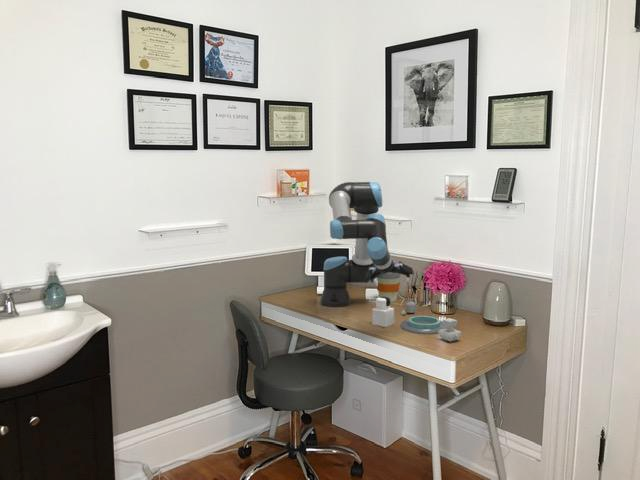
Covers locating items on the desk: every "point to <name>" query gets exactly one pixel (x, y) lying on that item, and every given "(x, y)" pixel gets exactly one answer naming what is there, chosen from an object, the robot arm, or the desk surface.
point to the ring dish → (420, 331)
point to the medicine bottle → (383, 312)
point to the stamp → (449, 330)
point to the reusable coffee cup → (388, 285)
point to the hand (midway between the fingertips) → (392, 281)
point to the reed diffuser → (410, 301)
